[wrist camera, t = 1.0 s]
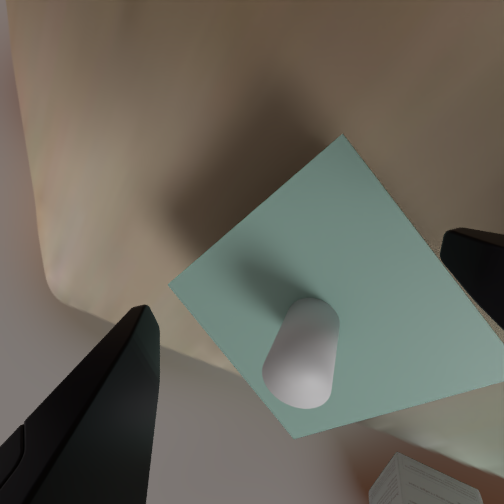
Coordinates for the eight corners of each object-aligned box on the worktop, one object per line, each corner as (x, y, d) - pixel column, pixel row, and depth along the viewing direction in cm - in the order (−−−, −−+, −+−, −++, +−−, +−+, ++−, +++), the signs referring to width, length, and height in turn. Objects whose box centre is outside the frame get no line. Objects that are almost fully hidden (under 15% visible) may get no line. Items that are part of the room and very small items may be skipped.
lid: (517, 361, 15) (605, 481, 9) (296, 427, 22) (275, 516, 16) (343, 134, 14) (332, 125, 9) (175, 279, 21) (113, 321, 16)
